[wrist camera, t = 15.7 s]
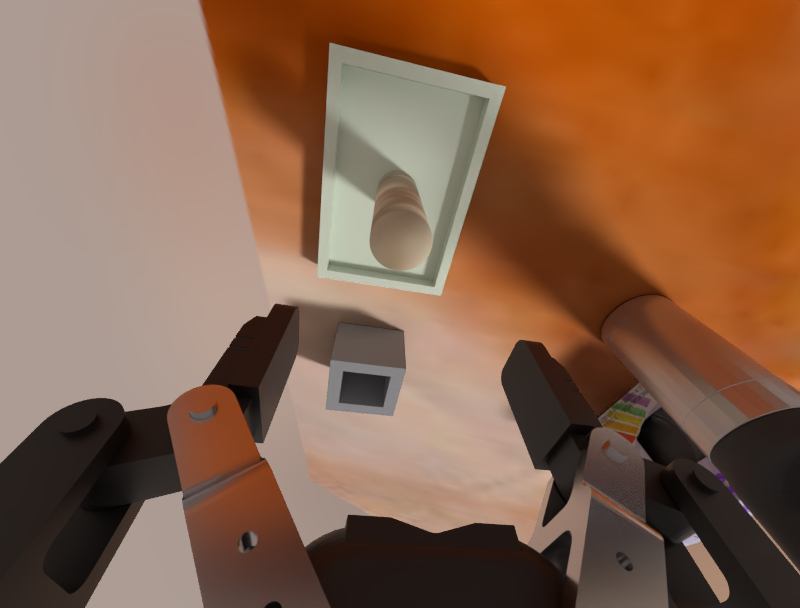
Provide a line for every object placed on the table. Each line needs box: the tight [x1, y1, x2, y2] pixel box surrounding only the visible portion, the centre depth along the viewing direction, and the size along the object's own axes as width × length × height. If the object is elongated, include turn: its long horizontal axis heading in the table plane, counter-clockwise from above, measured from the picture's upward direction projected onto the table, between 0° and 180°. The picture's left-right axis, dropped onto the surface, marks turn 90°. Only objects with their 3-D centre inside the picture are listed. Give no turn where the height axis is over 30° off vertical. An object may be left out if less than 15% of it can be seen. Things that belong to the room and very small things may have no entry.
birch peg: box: [369, 171, 433, 271], centre depth 25 cm, size 4×4×13 cm
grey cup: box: [326, 322, 406, 416], centre depth 40 cm, size 9×9×7 cm
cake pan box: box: [598, 382, 753, 547], centre depth 45 cm, size 19×5×18 cm, turn 156°
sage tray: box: [317, 43, 506, 296], centre depth 30 cm, size 14×20×2 cm
